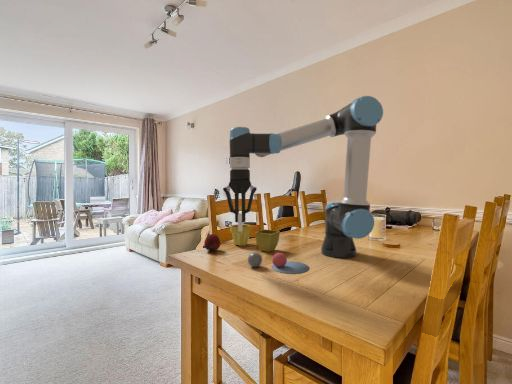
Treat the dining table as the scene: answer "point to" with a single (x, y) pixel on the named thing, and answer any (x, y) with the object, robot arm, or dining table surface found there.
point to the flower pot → (267, 239)
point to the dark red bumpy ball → (212, 242)
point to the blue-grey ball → (254, 259)
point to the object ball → (279, 260)
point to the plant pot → (240, 234)
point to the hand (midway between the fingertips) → (240, 230)
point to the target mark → (292, 267)
